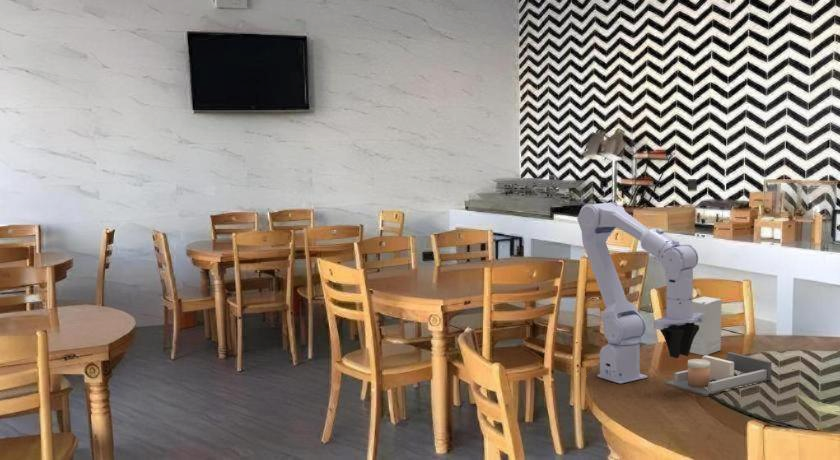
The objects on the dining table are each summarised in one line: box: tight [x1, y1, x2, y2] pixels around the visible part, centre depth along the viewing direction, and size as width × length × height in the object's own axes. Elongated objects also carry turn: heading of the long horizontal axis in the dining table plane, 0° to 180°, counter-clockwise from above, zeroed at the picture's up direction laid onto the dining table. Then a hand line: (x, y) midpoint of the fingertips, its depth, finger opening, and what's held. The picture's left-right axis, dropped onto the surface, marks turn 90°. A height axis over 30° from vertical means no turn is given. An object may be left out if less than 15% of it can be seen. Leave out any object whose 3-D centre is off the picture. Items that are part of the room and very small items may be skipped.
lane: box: [664, 351, 772, 397], centre depth 191 cm, size 24×12×4 cm, turn 120°
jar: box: [687, 358, 710, 387], centre depth 188 cm, size 5×5×6 cm
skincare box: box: [689, 296, 722, 356], centre depth 220 cm, size 8×6×15 cm
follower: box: [701, 355, 734, 380], centre depth 191 cm, size 2×8×5 cm, turn 30°
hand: (679, 356), depth 184 cm, fingers open, 3 cm apart
